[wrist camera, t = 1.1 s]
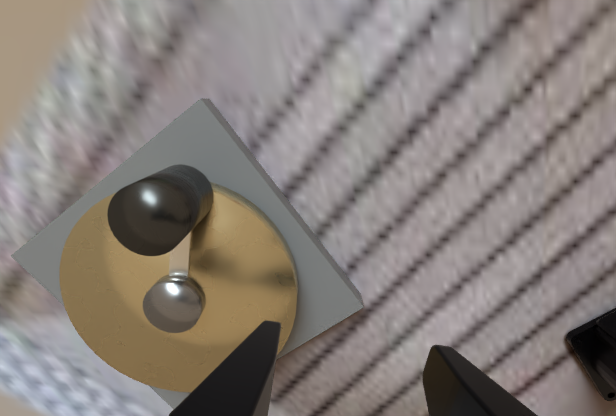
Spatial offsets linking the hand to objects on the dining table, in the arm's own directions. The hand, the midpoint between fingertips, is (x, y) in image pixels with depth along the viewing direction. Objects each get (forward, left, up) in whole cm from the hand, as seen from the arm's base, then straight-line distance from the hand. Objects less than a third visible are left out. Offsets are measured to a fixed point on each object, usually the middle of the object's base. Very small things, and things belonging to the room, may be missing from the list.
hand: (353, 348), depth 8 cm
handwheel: (+1, +10, -11) cm, 15 cm away
